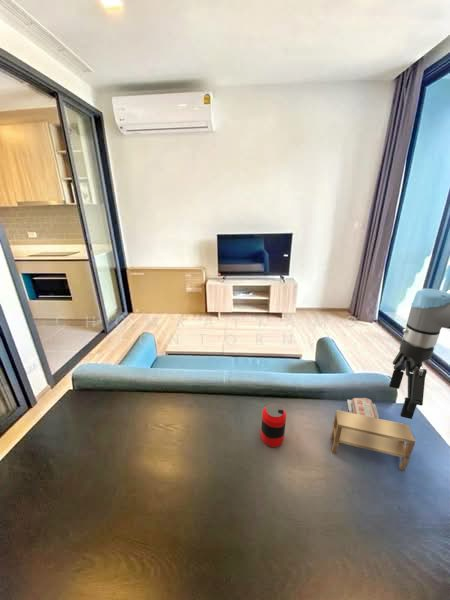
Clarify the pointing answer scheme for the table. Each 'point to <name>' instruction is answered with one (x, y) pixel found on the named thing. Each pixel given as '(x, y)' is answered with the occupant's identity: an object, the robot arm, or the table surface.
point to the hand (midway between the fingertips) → (399, 401)
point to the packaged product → (362, 407)
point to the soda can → (273, 425)
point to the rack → (373, 435)
